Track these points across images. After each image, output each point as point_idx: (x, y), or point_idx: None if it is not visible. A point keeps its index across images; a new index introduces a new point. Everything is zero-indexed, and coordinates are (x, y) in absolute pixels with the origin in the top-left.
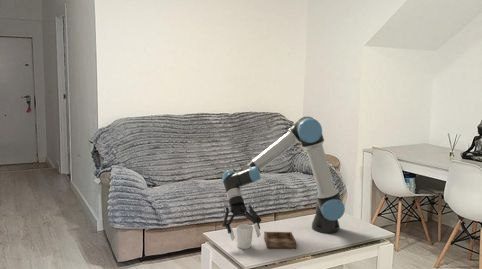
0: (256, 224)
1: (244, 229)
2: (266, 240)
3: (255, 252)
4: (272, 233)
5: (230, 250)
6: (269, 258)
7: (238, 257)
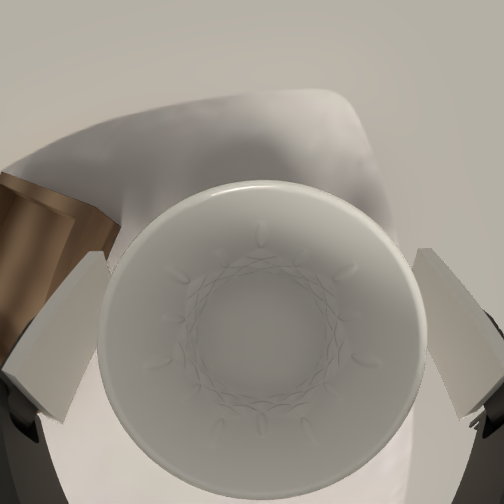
0: (27, 351)
1: (334, 197)
2: None
3: None
4: None
5: None
6: (193, 105)
7: (366, 160)
